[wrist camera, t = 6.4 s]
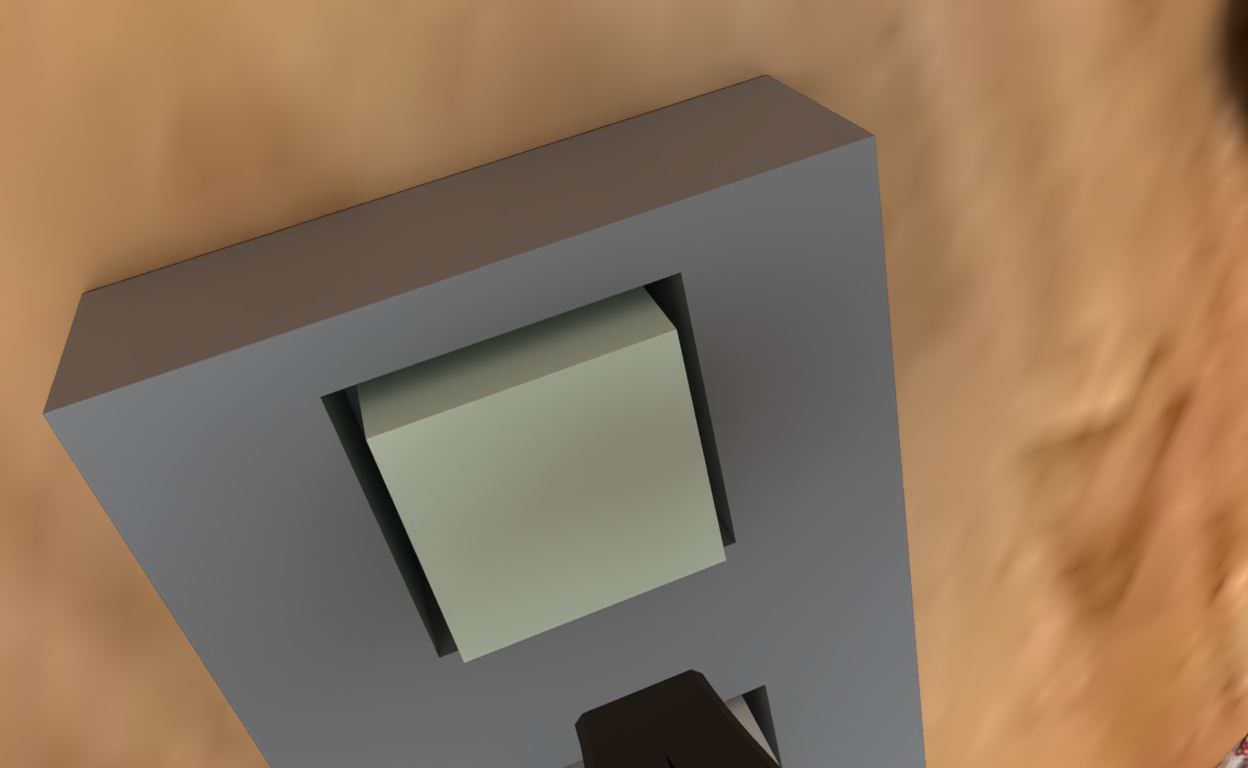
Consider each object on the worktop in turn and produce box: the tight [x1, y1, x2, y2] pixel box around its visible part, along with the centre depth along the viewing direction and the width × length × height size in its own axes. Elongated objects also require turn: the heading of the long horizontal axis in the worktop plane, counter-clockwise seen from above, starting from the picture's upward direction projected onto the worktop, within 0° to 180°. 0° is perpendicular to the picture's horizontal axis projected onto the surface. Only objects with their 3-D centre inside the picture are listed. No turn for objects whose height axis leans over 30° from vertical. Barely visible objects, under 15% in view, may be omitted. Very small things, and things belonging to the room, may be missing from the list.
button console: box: [43, 75, 926, 768], centre depth 21 cm, size 11×24×4 cm, turn 12°
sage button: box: [356, 286, 726, 663], centre depth 16 cm, size 4×4×3 cm
